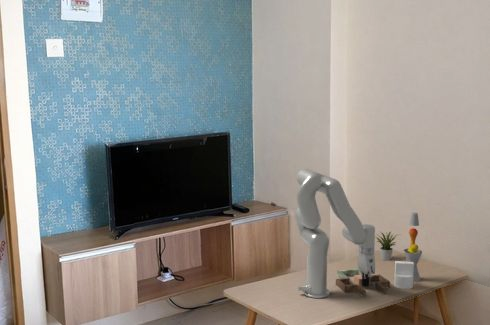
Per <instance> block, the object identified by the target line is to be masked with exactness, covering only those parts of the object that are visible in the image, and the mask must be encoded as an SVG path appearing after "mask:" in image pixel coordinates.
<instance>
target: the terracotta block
mask: <svg viewBox="0 0 490 325" xmlns="http://www.w3.org/2000/svg"><path fill="white" fill-rule="evenodd" d="M353 284H358V285H359V286H361V287H362V288H363V287H364V286H362V275H354V276H353ZM370 286H371V284H370V279H369V286H368V287H370Z"/></svg>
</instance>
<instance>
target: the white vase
mask: <svg viewBox="0 0 490 325" xmlns="http://www.w3.org/2000/svg"><path fill="white" fill-rule="evenodd" d="M413 270H414V263H413V262H407V261H398V260H395V261H394V283H393V285H394V287H396V288H398V289H403V290H409V289H413V287H414V282H413Z"/></svg>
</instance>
